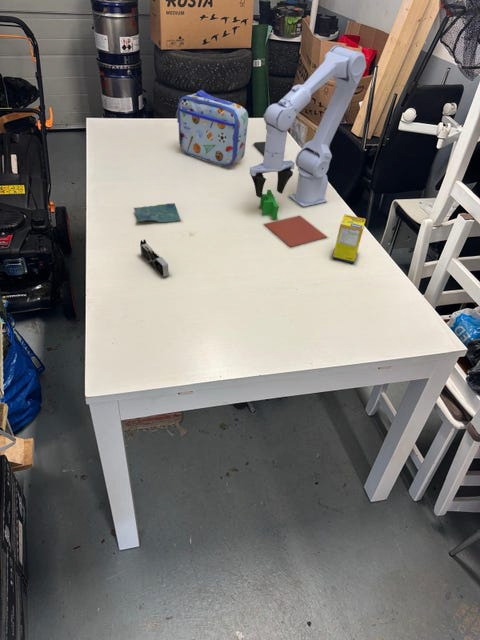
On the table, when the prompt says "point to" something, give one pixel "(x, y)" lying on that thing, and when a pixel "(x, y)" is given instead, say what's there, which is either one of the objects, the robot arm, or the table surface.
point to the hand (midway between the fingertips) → (269, 194)
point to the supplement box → (348, 238)
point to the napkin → (295, 231)
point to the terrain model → (158, 213)
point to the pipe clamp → (269, 205)
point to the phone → (260, 146)
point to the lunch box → (212, 128)
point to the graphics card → (154, 259)
